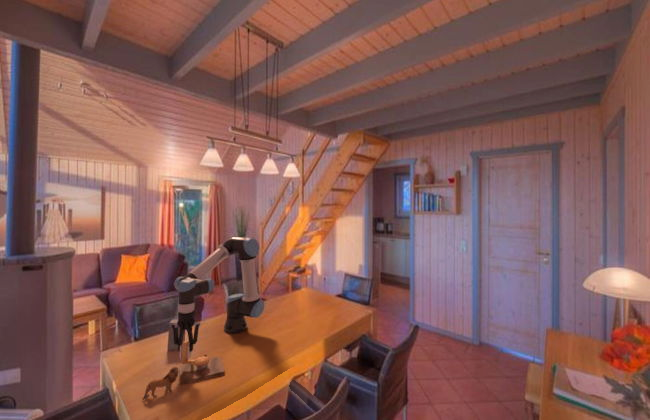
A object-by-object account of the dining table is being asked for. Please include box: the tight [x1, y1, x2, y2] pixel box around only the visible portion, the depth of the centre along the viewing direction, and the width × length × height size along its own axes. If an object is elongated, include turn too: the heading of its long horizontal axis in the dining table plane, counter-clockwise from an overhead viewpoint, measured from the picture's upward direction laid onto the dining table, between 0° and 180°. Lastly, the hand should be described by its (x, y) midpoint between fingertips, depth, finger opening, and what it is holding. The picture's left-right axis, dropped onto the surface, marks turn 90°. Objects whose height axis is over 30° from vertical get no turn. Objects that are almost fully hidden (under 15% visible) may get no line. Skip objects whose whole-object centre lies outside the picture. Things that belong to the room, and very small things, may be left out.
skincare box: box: [167, 318, 187, 352], centre depth 168 cm, size 8×7×16 cm
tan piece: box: [181, 340, 210, 366], centre depth 143 cm, size 13×7×11 cm, turn 97°
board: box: [178, 353, 226, 386], centre depth 144 cm, size 20×16×6 cm
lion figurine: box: [141, 366, 179, 401], centre depth 126 cm, size 15×5×9 cm, turn 140°
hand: (185, 357), depth 143 cm, fingers closed on tan piece, 3 cm apart
